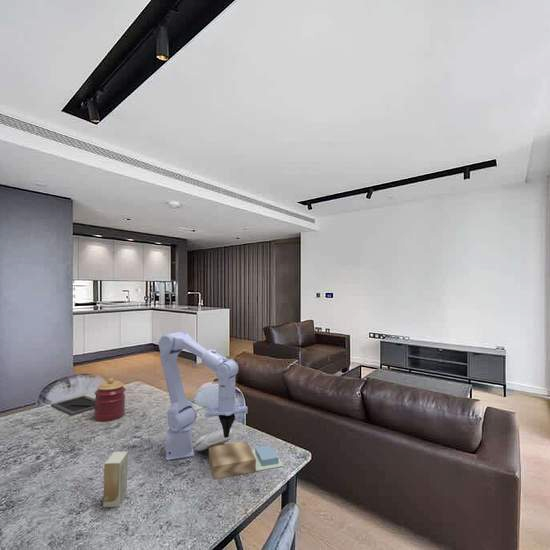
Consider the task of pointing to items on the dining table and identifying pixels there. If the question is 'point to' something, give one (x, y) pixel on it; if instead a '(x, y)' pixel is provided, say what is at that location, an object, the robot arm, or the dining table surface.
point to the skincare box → (115, 479)
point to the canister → (109, 400)
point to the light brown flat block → (231, 459)
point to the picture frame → (75, 405)
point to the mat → (260, 468)
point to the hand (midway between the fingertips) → (226, 436)
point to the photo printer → (212, 440)
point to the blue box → (266, 455)
